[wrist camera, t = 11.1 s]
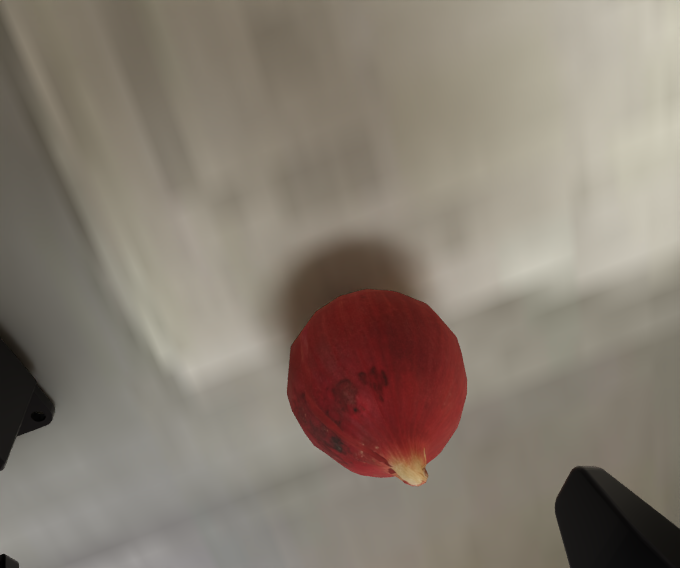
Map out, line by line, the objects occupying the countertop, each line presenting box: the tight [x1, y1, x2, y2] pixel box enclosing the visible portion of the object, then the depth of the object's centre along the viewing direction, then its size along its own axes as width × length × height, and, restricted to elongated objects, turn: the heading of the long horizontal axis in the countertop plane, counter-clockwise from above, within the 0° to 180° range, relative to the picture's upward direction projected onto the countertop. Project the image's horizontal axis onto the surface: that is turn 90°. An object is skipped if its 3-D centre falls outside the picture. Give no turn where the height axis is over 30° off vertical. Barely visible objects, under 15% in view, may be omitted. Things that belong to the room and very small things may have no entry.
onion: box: [287, 289, 467, 486], centre depth 21 cm, size 6×6×8 cm
